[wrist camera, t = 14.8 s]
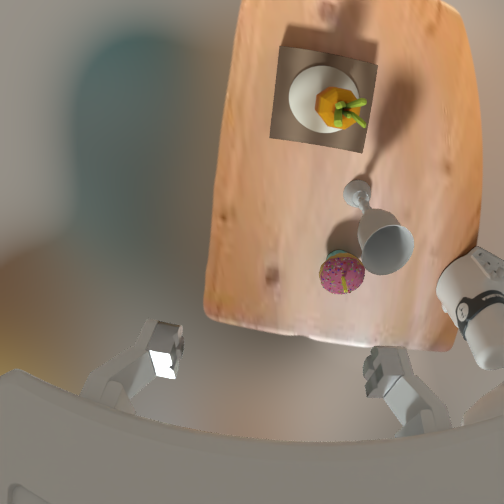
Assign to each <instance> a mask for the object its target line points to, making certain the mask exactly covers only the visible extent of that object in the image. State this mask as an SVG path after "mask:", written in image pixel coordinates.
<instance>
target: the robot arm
mask: <svg viewBox="0 0 504 504" xmlns="http://www.w3.org/2000/svg"><path fill="white" fill-rule="evenodd" d="M436 293H437V297H438V298H439V300H440V301H441V302H442V309H443V311H444V312H448V314H449V315H450V317H451V319H452V320H453V322H454V323H455V325H456V326H457V327H458V328H459V330H460V333H461V335H462V336H463V338H464V339H465V340H466V341H467V342H468V344H469V346H470V349H471V351H472V353H473V356H474V358H475V360H476V363H477V364H478V365H479V366H480V367H481V368H483V369H486V370H497V369H501V368H504V260H502V259H500V258H498V257H497V256H495V255H493V254H492V253H490V252H488V251H486V250H484V249H482V248H481V247H479V246H477V247H475V248H473V249H472V250H471V251H470V252H469V253H468V254H467V255H465V256H463V257H460V258H459V259H457V260H455V261H454V262H453V263H451V264H450V265H449V266H448V267H447V268H446V269H445V271H444V272H443V273H442V275H441V277H440V278H439V281H438V283H437V288H436ZM182 333H183V327H182V326H181V325H177V324H171V323H167V322H162V321H158V320H153V319H147V320H146V321H145V323H144V326H143V328H142V330H141V332H140V334H139V336H138V338H137V341H136V343H135V345H134V347H129V348H127V349H126V350H124V351H123V352H121V353H120V354H118V355H117V356H115V357H114V358H112V359H110V360H109V361H107V362H106V363H104V364H103V365H102V366H100V367H98V368H97V369H95V370H94V371H92V372H90V374H89V376H88V378H87V381H86V383H85V385H84V387H83V389H82V391H81V393H80V395H79V396H78V395H75V394H73V393H71V392H68V391H66V390H63V389H61V388H59V387H56V386H54V385H52V384H50V383H48V382H45V381H43V380H41V379H39V378H37V377H35V376H33V375H31V374H29V373H27V372H25V371H23V370H20V369H14V370H12V371H9V372H7V373H6V374H4V375H2V376H0V504H504V381H503V382H502V383H501V384H499V385H498V386H497V387H495V388H494V389H492V390H491V391H490V392H488V393H487V394H485V395H484V396H483V397H482V398H480V399H479V400H478V401H477V402H476V403H475V404H474V405H473V406H471V408H469V409H468V410H467V411H466V412H465V413H464V415H463V418H462V422H461V426H460V427H456V428H452V424H451V420H450V417H449V413H448V409H447V406H446V405H445V404H444V403H443V402H442V401H441V400H440V399H439V398H438V396H437V395H435V393H433V391H432V390H430V388H429V387H428V386H427V385H426V384H425V383H424V382H423V381H422V380H421V379H420V378H419V377H418V376H417V375H414V373H413V369H412V366H411V362H410V359H409V356H408V353H407V349H406V348H405V347H401V346H374V347H373V348H372V349H371V355H370V356H368V357H367V358H366V360H365V361H364V365H363V376H364V378H365V379H366V380H367V383H366V385H365V388H366V395H367V397H368V398H383V399H384V400H385V402H386V403H387V404H388V406H389V407H390V409H391V410H392V411H393V413H394V414H395V415H396V417H397V418H398V420H399V421H400V423H401V424H402V425H403V427H402V428H401V429H400V430H399V431H398V432H397V433H396V434H395V438H388V439H377V440H364V441H343V442H341V441H340V442H305V441H304V442H303V441H283V440H269V439H258V438H248V437H240V436H232V435H225V434H219V433H212V432H206V431H201V430H195V429H190V428H186V427H181V426H176V425H172V424H167V423H163V422H159V421H155V420H152V419H148V418H144V417H140V416H137V415H135V414H136V411H135V409H134V407H133V405H132V403H131V402H130V399H131V398H132V397H133V396H135V395H136V394H137V393H138V392H139V391H140V390H142V389H143V388H144V387H145V386H146V385H147V384H148V383H150V382H151V381H152V380H153V379H154V378H155V377H156V376H162V377H166V378H172V379H175V378H176V374H177V371H178V368H179V364H178V360H180V359H181V358H182V355H183V350H184V338H183V336H182Z"/></svg>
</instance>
